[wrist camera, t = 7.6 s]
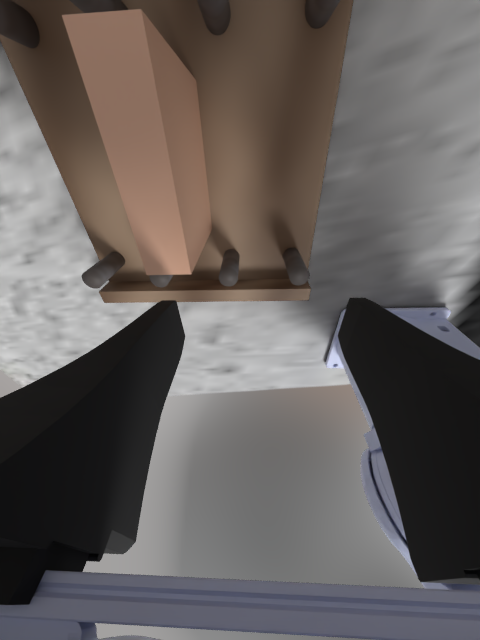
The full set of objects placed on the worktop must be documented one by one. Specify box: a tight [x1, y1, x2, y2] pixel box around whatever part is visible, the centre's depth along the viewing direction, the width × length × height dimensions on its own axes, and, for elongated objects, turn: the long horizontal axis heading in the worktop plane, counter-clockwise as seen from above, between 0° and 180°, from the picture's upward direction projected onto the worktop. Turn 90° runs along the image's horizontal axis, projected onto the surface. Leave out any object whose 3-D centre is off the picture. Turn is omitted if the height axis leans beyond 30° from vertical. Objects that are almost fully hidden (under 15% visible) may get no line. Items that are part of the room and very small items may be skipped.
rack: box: [0, 0, 353, 303], centre depth 12 cm, size 16×17×5 cm
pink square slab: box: [62, 9, 212, 275], centre depth 10 cm, size 2×7×7 cm, turn 2°
